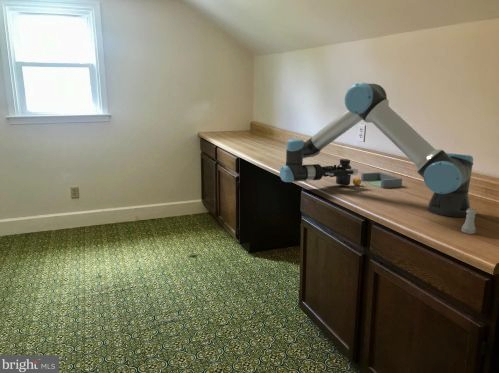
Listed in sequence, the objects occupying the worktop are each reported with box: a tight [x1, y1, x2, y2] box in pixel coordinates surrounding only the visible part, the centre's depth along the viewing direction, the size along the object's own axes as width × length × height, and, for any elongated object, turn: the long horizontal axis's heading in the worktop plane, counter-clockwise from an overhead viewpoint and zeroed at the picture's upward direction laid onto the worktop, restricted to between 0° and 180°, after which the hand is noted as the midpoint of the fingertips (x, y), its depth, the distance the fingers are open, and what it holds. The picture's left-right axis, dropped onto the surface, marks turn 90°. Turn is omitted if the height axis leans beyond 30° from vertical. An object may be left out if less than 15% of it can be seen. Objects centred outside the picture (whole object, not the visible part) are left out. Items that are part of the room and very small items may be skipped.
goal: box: [360, 171, 403, 189], centre depth 208 cm, size 12×17×4 cm
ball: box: [352, 177, 362, 186], centre depth 202 cm, size 4×4×4 cm
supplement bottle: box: [335, 158, 353, 186], centre depth 199 cm, size 7×7×12 cm
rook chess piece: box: [460, 208, 478, 235], centre depth 138 cm, size 4×4×8 cm
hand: (352, 170), depth 200 cm, fingers closed on supplement bottle, 7 cm apart
